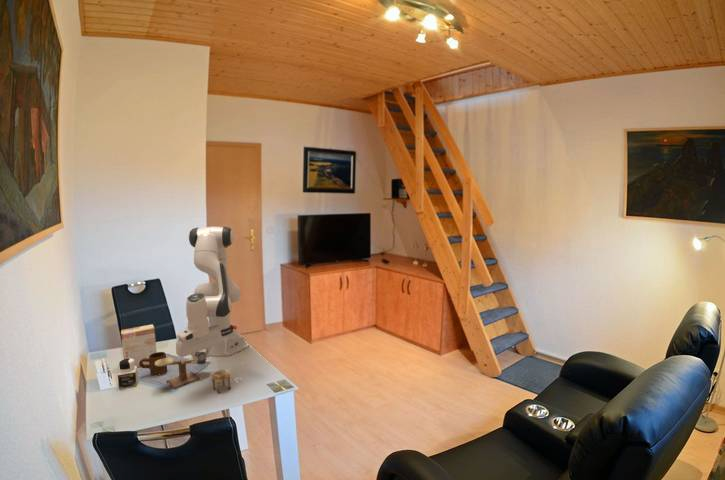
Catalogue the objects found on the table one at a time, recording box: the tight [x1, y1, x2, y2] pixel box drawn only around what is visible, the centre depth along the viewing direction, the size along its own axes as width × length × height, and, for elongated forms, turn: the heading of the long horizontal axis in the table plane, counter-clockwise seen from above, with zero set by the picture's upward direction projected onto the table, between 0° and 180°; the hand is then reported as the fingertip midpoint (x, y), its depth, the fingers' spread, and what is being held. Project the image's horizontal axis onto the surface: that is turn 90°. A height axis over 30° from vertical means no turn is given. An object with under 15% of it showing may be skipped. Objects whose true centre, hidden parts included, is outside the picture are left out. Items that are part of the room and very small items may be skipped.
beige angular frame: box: [233, 362, 244, 383], centre depth 195 cm, size 25×17×1 cm
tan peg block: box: [211, 369, 231, 394], centre depth 181 cm, size 6×6×8 cm
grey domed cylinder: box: [196, 351, 207, 365], centre depth 182 cm, size 4×4×4 cm
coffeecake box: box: [120, 324, 157, 369], centre depth 207 cm, size 15×7×20 cm, turn 123°
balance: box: [155, 352, 208, 390], centre depth 188 cm, size 23×9×13 cm, turn 138°
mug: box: [139, 351, 168, 376], centre depth 197 cm, size 12×8×9 cm, turn 126°
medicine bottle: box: [117, 358, 139, 390], centre depth 186 cm, size 7×7×12 cm
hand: (201, 359), depth 182 cm, fingers closed on grey domed cylinder, 4 cm apart
